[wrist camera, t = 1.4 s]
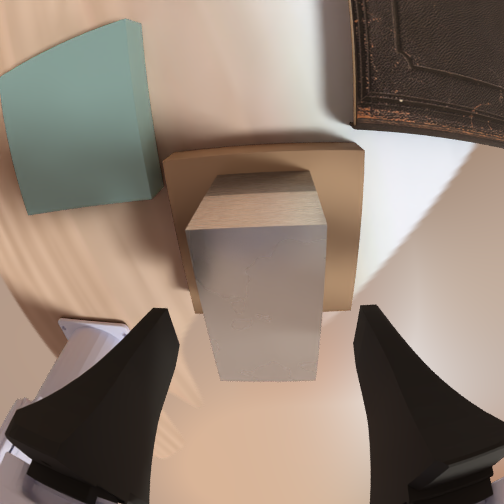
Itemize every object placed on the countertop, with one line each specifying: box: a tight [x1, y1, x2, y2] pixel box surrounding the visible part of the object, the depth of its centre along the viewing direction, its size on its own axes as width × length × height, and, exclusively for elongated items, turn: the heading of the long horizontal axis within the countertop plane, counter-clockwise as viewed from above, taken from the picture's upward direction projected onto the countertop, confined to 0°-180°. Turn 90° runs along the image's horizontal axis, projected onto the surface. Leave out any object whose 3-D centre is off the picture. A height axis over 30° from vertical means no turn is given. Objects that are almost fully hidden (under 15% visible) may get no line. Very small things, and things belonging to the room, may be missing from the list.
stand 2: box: [162, 142, 365, 314], centre depth 18 cm, size 10×10×2 cm
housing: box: [185, 170, 327, 382], centre depth 14 cm, size 8×4×6 cm, turn 5°
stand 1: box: [0, 19, 164, 215], centre depth 15 cm, size 10×10×2 cm
